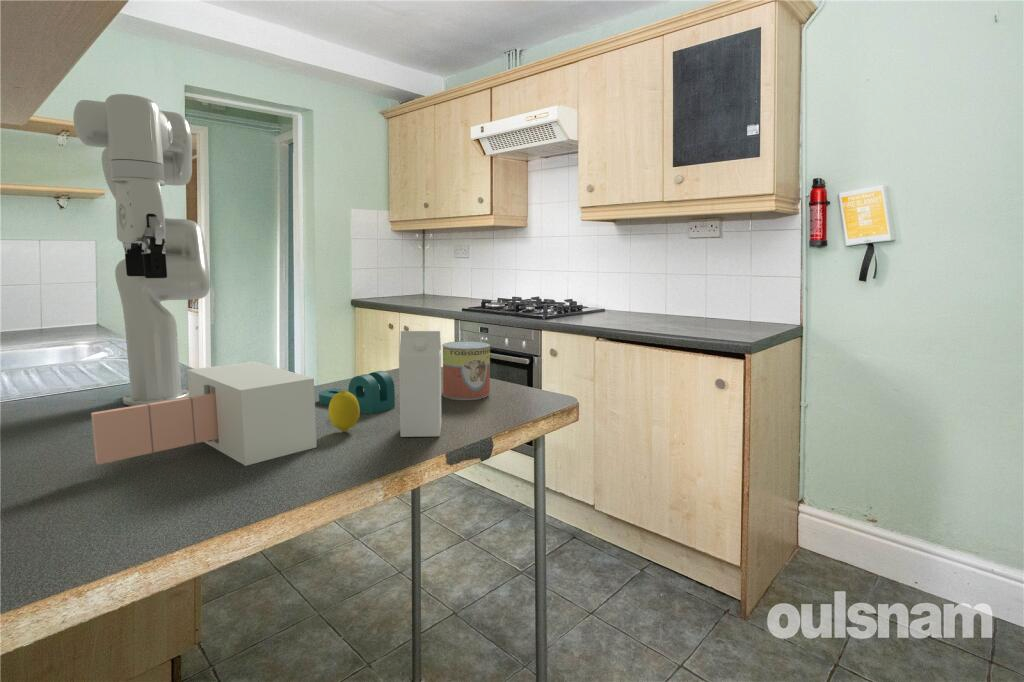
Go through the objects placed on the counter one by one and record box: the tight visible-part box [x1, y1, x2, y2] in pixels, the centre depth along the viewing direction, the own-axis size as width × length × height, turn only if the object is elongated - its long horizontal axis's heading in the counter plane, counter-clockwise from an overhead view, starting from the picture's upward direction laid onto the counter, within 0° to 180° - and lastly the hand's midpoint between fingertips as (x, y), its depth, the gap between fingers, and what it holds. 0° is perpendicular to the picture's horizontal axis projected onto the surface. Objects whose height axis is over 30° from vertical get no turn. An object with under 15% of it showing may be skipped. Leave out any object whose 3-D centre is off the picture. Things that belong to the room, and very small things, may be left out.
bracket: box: [318, 370, 396, 415], centre depth 124 cm, size 18×7×8 cm, turn 60°
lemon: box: [328, 390, 361, 433], centre depth 105 cm, size 6×6×8 cm
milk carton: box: [398, 330, 442, 438], centre depth 105 cm, size 7×7×19 cm
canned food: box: [441, 340, 491, 401], centre depth 134 cm, size 11×11×12 cm
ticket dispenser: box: [186, 360, 318, 467], centre depth 98 cm, size 13×22×12 cm, turn 48°
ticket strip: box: [90, 393, 218, 466], centre depth 89 cm, size 18×1×8 cm, turn 138°
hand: (146, 277), depth 98 cm, fingers open, 9 cm apart
